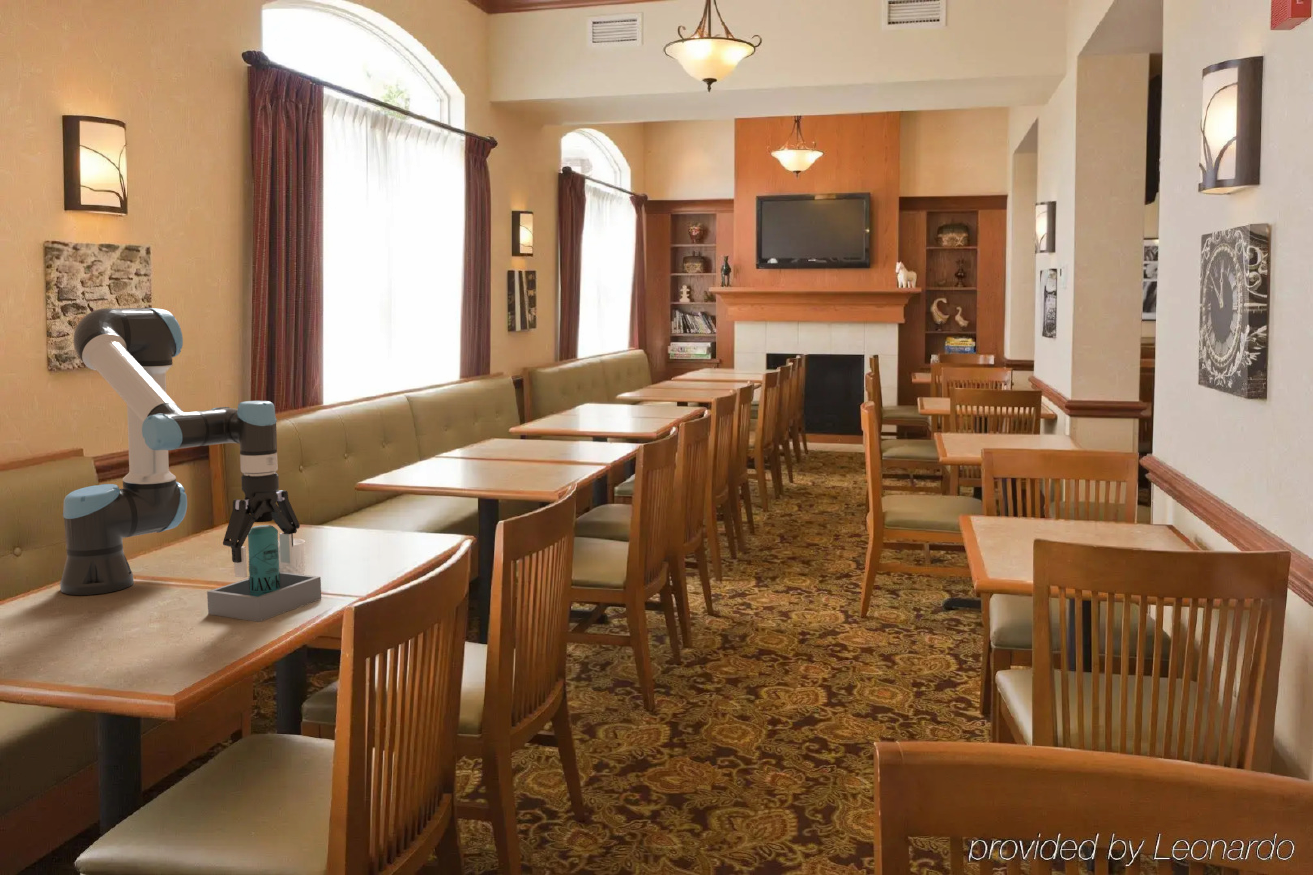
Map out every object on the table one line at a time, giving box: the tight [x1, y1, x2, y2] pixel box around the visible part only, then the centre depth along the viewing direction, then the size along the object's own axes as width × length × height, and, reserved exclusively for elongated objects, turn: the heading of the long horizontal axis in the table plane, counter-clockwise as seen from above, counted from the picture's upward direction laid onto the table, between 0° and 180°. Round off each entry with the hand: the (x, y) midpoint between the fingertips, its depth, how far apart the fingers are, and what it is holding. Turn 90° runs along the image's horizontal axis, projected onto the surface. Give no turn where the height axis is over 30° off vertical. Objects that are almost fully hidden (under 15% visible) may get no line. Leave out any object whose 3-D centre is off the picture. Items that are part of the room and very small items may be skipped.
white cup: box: [278, 538, 306, 575], centre depth 251 cm, size 8×8×10 cm
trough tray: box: [206, 572, 322, 622], centre depth 232 cm, size 14×19×5 cm
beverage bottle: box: [247, 512, 281, 597], centre depth 231 cm, size 6×7×20 cm
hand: (264, 569), depth 231 cm, fingers open, 13 cm apart
